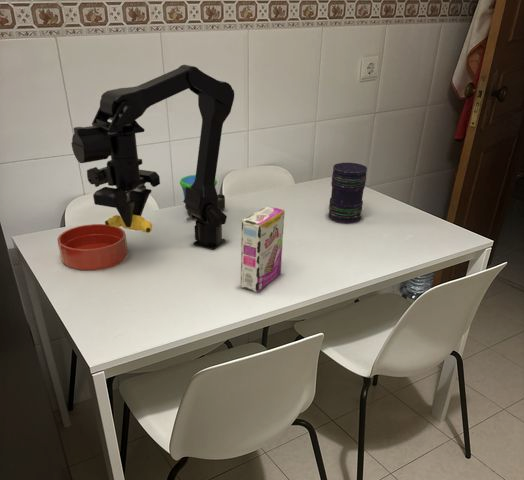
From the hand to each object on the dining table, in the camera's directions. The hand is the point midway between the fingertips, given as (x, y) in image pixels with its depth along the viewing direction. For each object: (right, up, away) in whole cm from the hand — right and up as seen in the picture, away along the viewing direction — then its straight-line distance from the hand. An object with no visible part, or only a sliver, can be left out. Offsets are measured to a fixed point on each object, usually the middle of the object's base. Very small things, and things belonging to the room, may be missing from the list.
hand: (132, 224), depth 123 cm
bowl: (-12, -6, +10) cm, 16 cm away
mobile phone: (+13, +13, +33) cm, 38 cm away
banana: (0, -1, +1) cm, 1 cm away
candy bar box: (+30, -14, +1) cm, 33 cm away
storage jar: (+55, +10, +36) cm, 67 cm away
